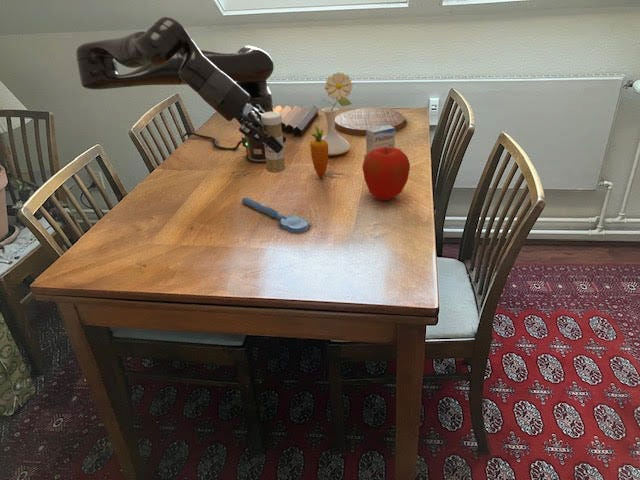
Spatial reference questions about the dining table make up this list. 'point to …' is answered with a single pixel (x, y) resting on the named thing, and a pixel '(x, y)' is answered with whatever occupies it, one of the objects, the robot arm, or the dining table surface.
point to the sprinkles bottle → (274, 128)
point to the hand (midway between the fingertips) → (282, 146)
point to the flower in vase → (338, 89)
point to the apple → (386, 172)
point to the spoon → (280, 217)
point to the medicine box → (380, 137)
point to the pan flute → (296, 118)
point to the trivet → (368, 120)
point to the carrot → (319, 153)
